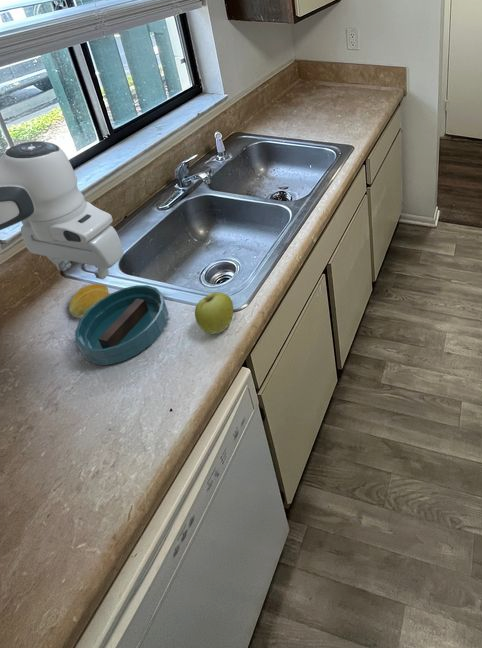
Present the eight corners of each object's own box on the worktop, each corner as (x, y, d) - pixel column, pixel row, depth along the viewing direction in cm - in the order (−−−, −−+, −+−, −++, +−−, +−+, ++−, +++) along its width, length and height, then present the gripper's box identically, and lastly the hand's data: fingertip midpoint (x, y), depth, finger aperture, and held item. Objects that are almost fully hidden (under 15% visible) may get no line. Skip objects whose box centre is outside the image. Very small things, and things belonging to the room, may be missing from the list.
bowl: (71, 377, 91) (62, 361, 89) (96, 310, 106) (89, 296, 104) (162, 352, 96) (156, 337, 94) (173, 292, 110) (168, 277, 108)
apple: (239, 330, 99) (217, 303, 94) (206, 345, 98) (181, 319, 94) (242, 302, 106) (221, 276, 101) (211, 316, 105) (188, 290, 101)
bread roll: (105, 284, 113) (100, 273, 111) (114, 305, 107) (109, 293, 105) (67, 303, 108) (61, 291, 106) (75, 326, 102) (69, 314, 100)
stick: (111, 352, 95) (106, 341, 94) (103, 350, 96) (97, 339, 94) (148, 310, 105) (144, 299, 103) (141, 308, 105) (136, 298, 104)
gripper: (1, 221, 83) (28, 275, 89) (90, 238, 79) (112, 293, 85) (34, 201, 88) (57, 253, 94) (118, 216, 84) (137, 269, 90)
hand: (84, 272), depth 89 cm, fingers open, 8 cm apart
